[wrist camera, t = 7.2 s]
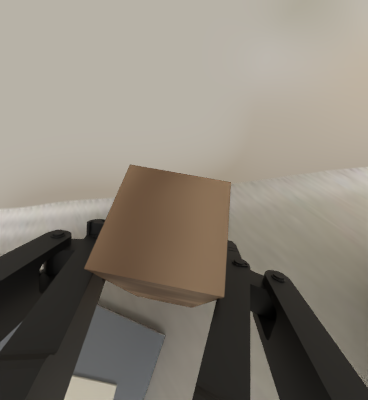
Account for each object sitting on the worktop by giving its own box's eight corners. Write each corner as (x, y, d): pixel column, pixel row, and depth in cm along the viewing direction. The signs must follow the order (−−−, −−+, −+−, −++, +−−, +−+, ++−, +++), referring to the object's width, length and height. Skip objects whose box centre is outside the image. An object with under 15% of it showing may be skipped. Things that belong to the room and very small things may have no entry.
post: (199, 252, 19) (230, 182, 9) (191, 307, 17) (224, 297, 6) (151, 243, 19) (130, 164, 9) (137, 296, 17) (83, 268, 7)
